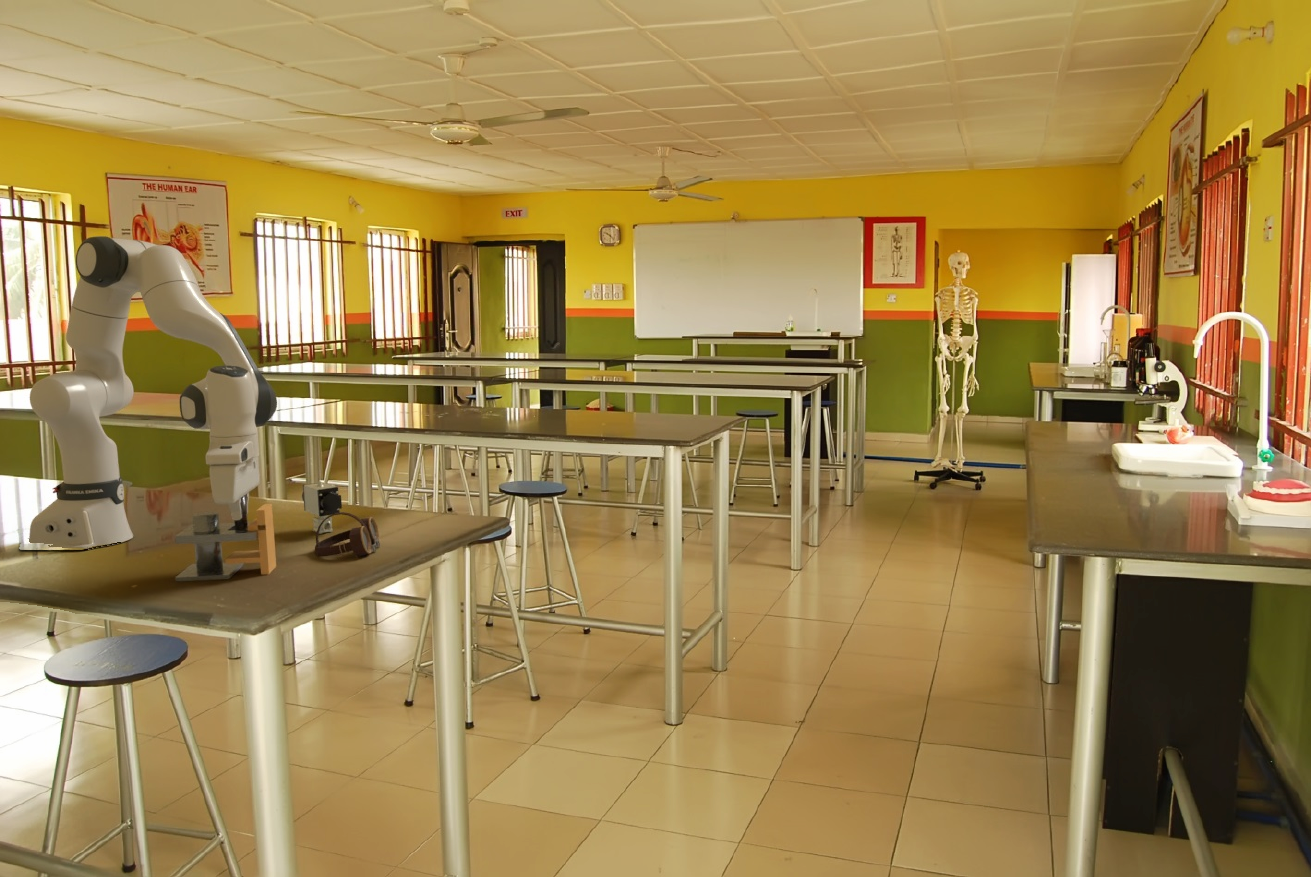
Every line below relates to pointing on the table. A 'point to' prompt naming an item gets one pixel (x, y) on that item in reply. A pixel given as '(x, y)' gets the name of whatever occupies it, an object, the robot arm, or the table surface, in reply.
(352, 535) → the goggles
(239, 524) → the pin
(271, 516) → the bracket
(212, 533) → the double plate spool
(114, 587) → the table surface
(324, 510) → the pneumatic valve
